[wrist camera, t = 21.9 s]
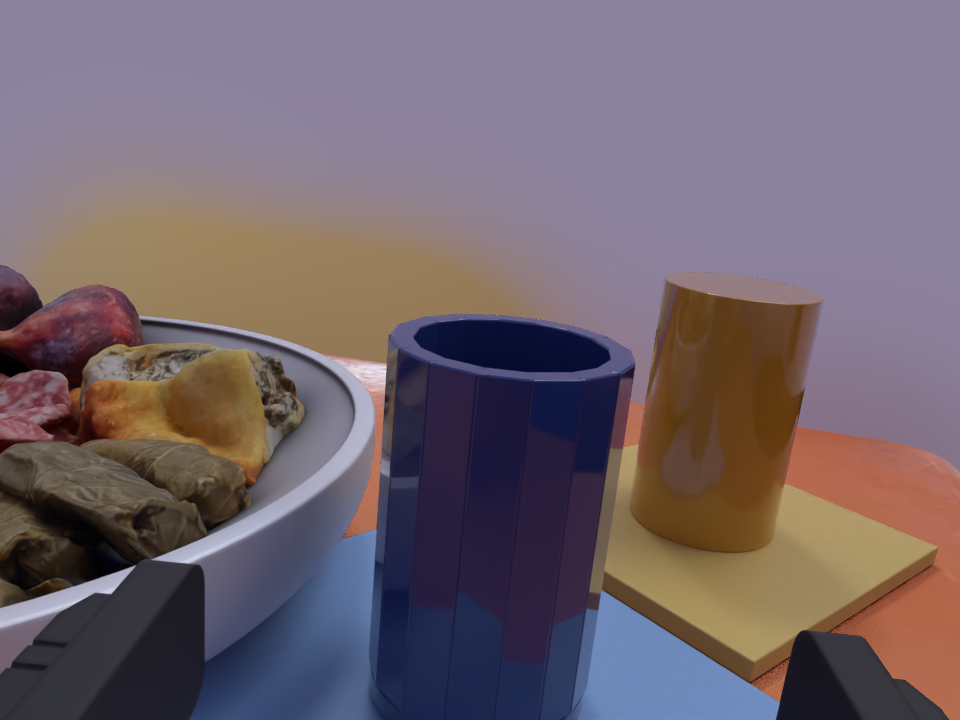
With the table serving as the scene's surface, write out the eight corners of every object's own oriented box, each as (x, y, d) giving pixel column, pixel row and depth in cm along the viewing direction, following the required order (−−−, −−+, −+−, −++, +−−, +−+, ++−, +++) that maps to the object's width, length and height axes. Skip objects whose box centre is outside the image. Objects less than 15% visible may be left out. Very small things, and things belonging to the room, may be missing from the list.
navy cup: (627, 705, 23) (684, 361, 20) (458, 803, 19) (500, 394, 16) (488, 601, 27) (519, 307, 24) (328, 664, 23) (344, 323, 20)
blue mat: (824, 757, 22) (830, 733, 22) (301, 1196, 12) (303, 1160, 12) (464, 520, 34) (466, 502, 34) (42, 646, 24) (40, 623, 24)
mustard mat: (934, 563, 34) (938, 546, 34) (749, 684, 25) (754, 662, 25) (667, 448, 44) (669, 434, 44) (468, 505, 35) (469, 488, 35)
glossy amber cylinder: (801, 529, 34) (852, 298, 32) (719, 568, 31) (769, 308, 28) (685, 476, 39) (721, 269, 36) (600, 504, 35) (633, 275, 32)
